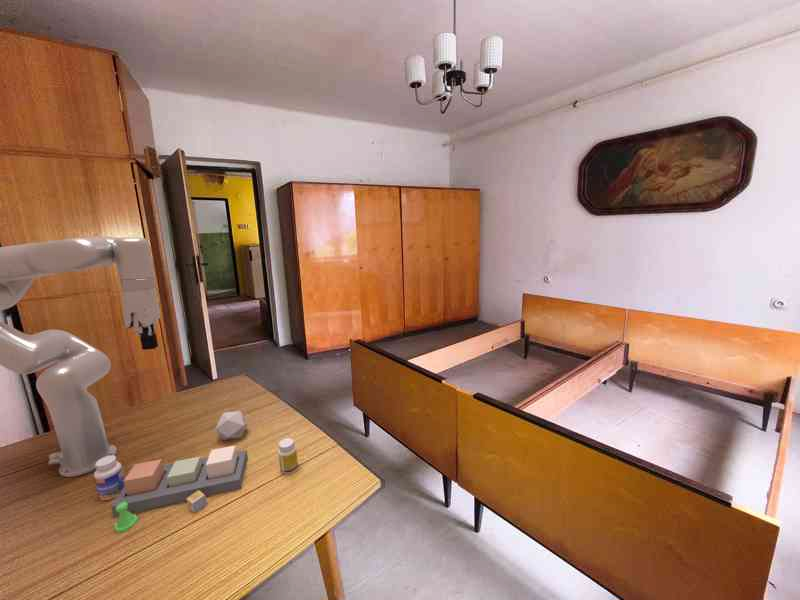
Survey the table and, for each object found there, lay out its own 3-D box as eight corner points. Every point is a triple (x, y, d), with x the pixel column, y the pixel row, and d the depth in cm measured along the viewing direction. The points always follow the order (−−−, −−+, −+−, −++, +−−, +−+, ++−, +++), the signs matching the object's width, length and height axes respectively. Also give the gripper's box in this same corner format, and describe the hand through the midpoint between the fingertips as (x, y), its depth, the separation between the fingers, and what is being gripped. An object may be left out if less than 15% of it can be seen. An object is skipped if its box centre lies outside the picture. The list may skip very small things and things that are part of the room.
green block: (170, 493, 84) (166, 477, 83) (178, 476, 90) (175, 461, 89) (196, 488, 86) (193, 471, 85) (203, 471, 91) (200, 456, 90)
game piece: (111, 535, 74) (105, 514, 72) (118, 520, 78) (112, 499, 76) (134, 528, 76) (129, 507, 74) (140, 513, 79) (135, 493, 78)
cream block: (208, 480, 86) (205, 464, 85) (214, 465, 92) (211, 449, 91) (233, 475, 88) (231, 459, 87) (237, 460, 94) (235, 445, 92)
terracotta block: (127, 497, 81) (123, 481, 80) (138, 480, 87) (135, 464, 86) (155, 492, 83) (152, 475, 82) (165, 475, 89) (161, 459, 87)
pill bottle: (96, 504, 82) (87, 471, 80) (103, 489, 87) (94, 457, 85) (124, 495, 85) (115, 463, 82) (129, 481, 89) (121, 450, 87)
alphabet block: (194, 513, 79) (192, 503, 78) (188, 508, 81) (186, 497, 80) (207, 504, 82) (205, 494, 81) (201, 499, 83) (199, 489, 83)
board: (113, 517, 79) (110, 506, 78) (136, 480, 90) (134, 471, 89) (240, 488, 86) (239, 479, 86) (247, 458, 97) (246, 449, 97)
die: (232, 450, 102) (249, 419, 104) (205, 437, 101) (223, 407, 103) (240, 442, 111) (256, 414, 113) (215, 430, 110) (231, 402, 112)
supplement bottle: (301, 465, 94) (298, 439, 92) (289, 476, 90) (286, 450, 88) (288, 460, 96) (285, 435, 94) (276, 471, 92) (273, 445, 90)
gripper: (136, 280, 94) (147, 340, 98) (105, 290, 80) (120, 360, 84) (166, 279, 96) (175, 338, 100) (141, 288, 82) (153, 357, 86)
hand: (150, 348), depth 92 cm, fingers closed
